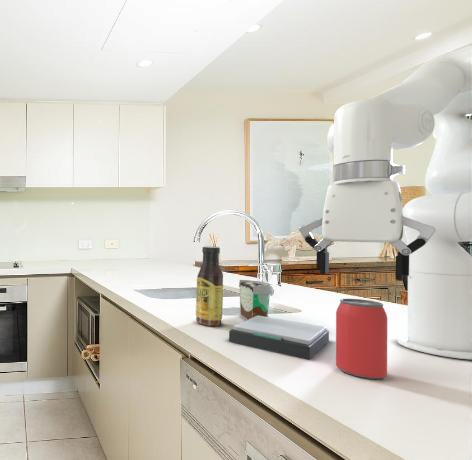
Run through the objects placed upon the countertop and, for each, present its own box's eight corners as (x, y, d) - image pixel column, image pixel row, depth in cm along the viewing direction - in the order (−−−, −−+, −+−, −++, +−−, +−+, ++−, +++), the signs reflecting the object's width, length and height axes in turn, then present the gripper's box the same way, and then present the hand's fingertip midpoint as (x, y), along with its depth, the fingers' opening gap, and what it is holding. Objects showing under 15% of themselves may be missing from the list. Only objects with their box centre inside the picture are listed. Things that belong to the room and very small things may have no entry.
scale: (256, 327, 88) (256, 314, 88) (328, 341, 77) (329, 326, 77) (228, 341, 77) (229, 326, 77) (309, 359, 66) (309, 342, 66)
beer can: (337, 374, 59) (337, 302, 59) (334, 362, 65) (334, 296, 65) (391, 384, 56) (391, 307, 56) (383, 370, 61) (383, 300, 61)
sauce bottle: (191, 320, 94) (191, 245, 94) (213, 320, 95) (214, 246, 95) (204, 327, 88) (205, 247, 88) (228, 327, 88) (228, 247, 88)
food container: (280, 326, 89) (281, 286, 89) (253, 325, 90) (254, 285, 90) (262, 315, 101) (262, 280, 101) (238, 314, 102) (238, 279, 102)
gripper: (436, 173, 56) (435, 281, 56) (305, 182, 69) (304, 270, 69) (436, 166, 51) (434, 285, 51) (294, 178, 64) (293, 273, 64)
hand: (359, 276), depth 60 cm, fingers open, 9 cm apart
